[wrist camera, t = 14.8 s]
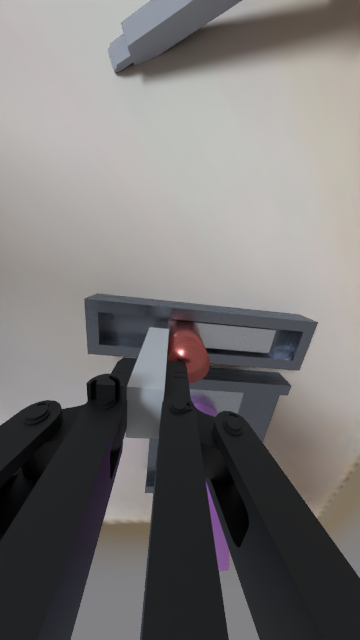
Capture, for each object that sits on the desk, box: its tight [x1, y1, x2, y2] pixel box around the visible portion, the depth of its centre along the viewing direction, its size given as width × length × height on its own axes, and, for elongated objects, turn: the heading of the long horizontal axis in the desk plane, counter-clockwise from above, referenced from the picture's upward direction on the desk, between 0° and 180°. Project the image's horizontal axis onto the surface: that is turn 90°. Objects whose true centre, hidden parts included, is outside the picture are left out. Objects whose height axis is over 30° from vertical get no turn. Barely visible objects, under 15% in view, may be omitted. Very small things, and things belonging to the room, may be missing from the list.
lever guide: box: [85, 294, 318, 370], centre depth 16 cm, size 20×5×2 cm, turn 83°
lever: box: [167, 319, 276, 384], centre depth 14 cm, size 10×3×6 cm, turn 84°
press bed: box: [145, 367, 291, 493], centre depth 21 cm, size 14×18×2 cm
